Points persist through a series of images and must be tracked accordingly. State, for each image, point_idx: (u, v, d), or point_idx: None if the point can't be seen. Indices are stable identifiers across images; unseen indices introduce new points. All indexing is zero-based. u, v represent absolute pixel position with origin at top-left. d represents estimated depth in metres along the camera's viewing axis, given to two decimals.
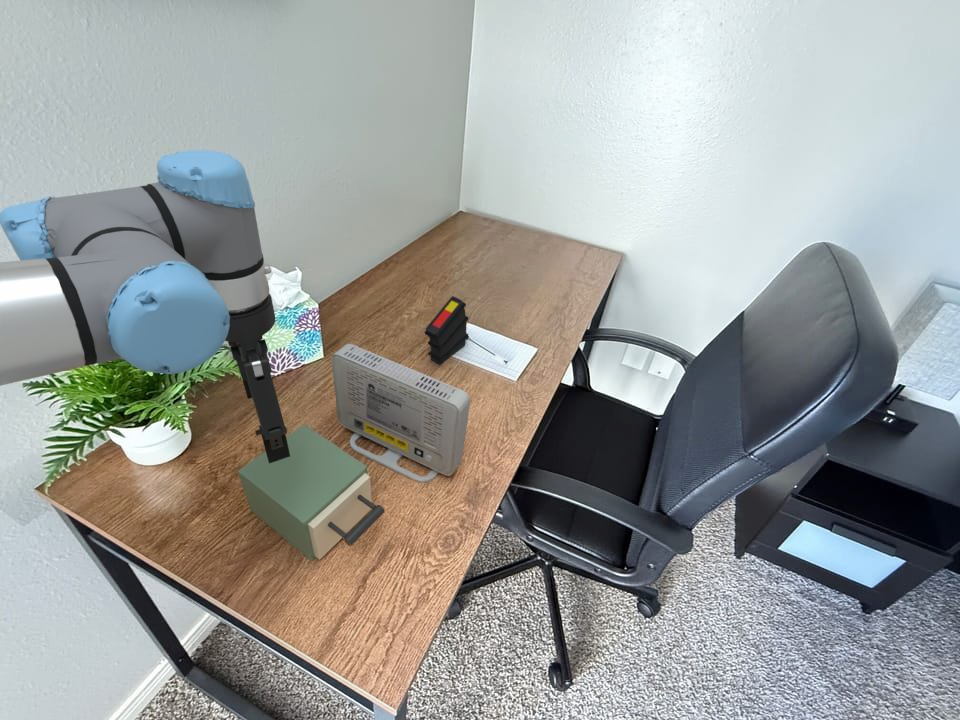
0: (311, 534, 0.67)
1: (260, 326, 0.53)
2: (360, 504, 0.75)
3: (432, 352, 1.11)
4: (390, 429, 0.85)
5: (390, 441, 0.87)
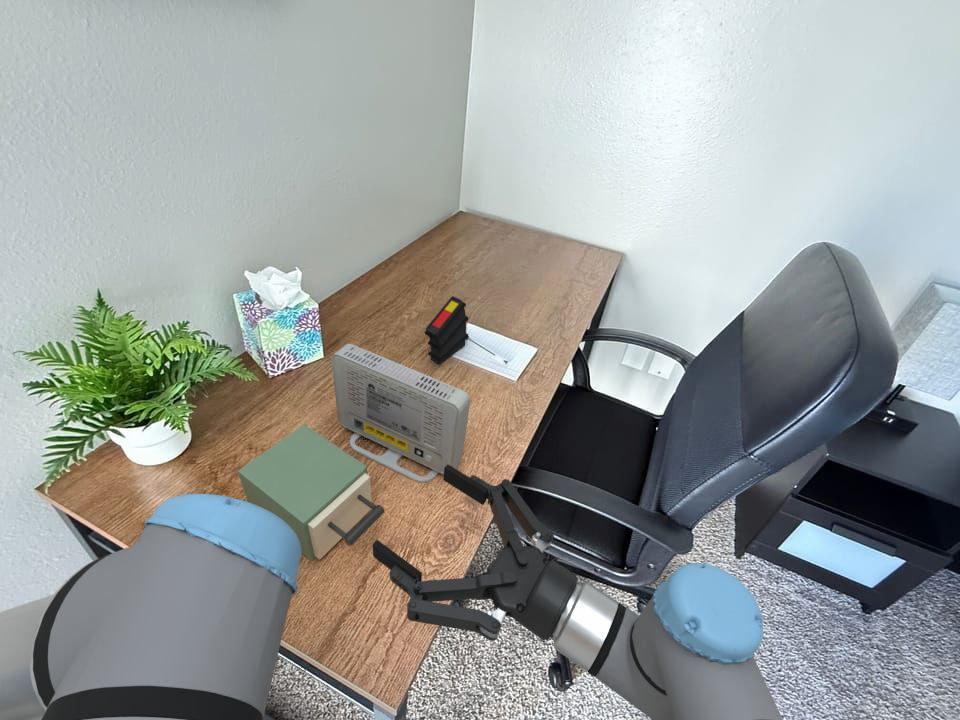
0: (311, 534, 0.67)
1: None
2: (360, 504, 0.75)
3: (432, 352, 1.11)
4: (390, 429, 0.85)
5: (390, 441, 0.87)
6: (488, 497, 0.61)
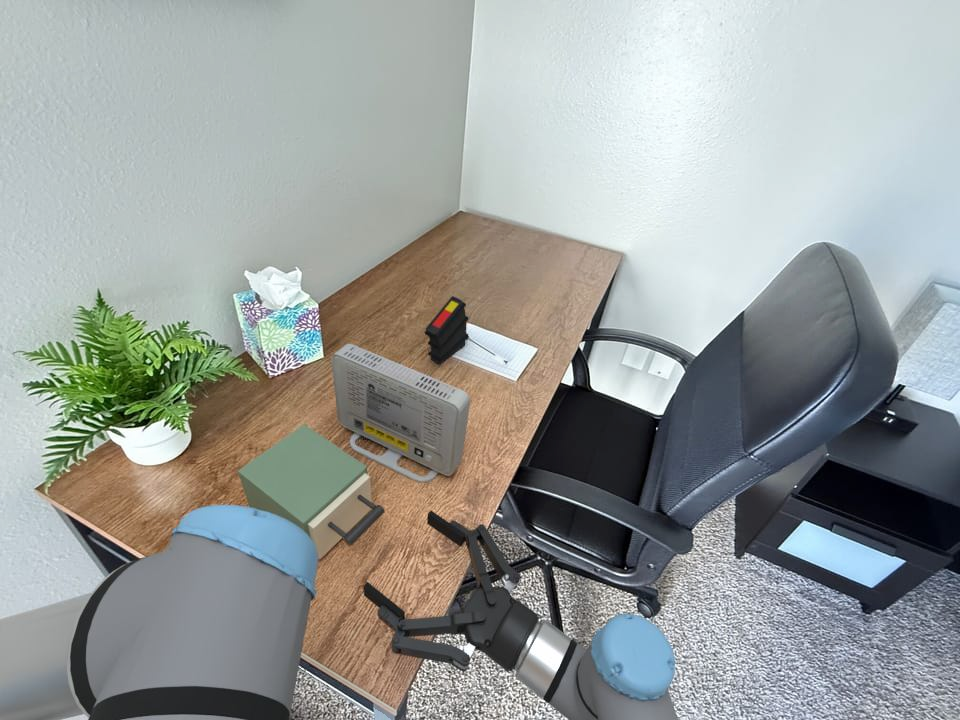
0: (311, 534, 0.67)
1: None
2: (360, 504, 0.75)
3: (432, 352, 1.11)
4: (390, 429, 0.85)
5: (390, 441, 0.87)
6: (465, 540, 0.69)
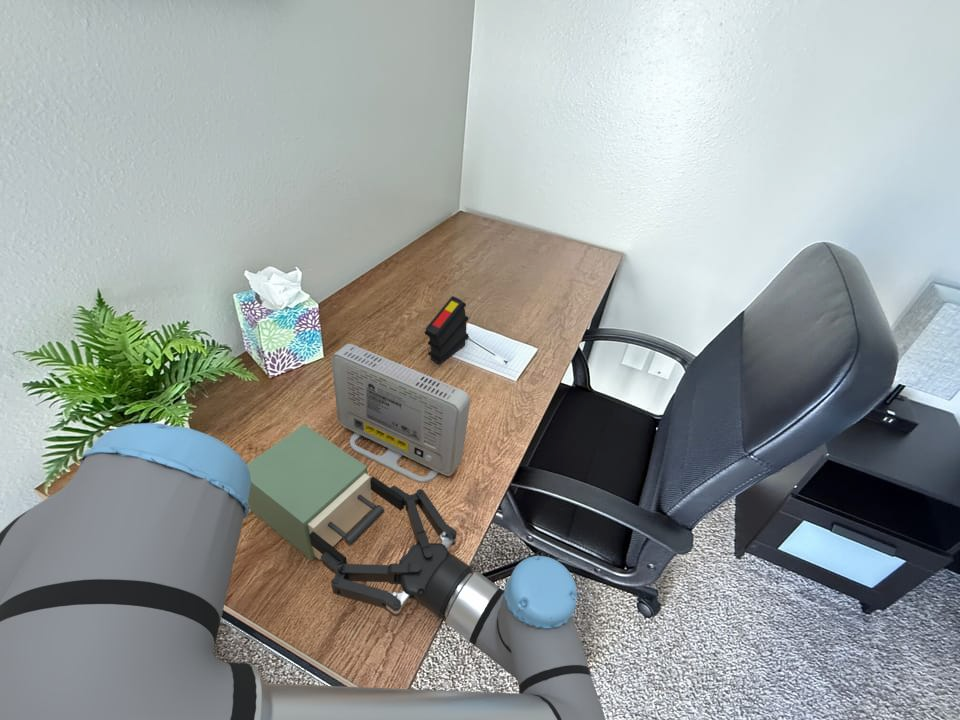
0: None
1: (429, 610, 0.62)
2: (360, 504, 0.75)
3: (432, 352, 1.11)
4: (390, 429, 0.85)
5: (390, 441, 0.87)
6: (405, 504, 0.73)
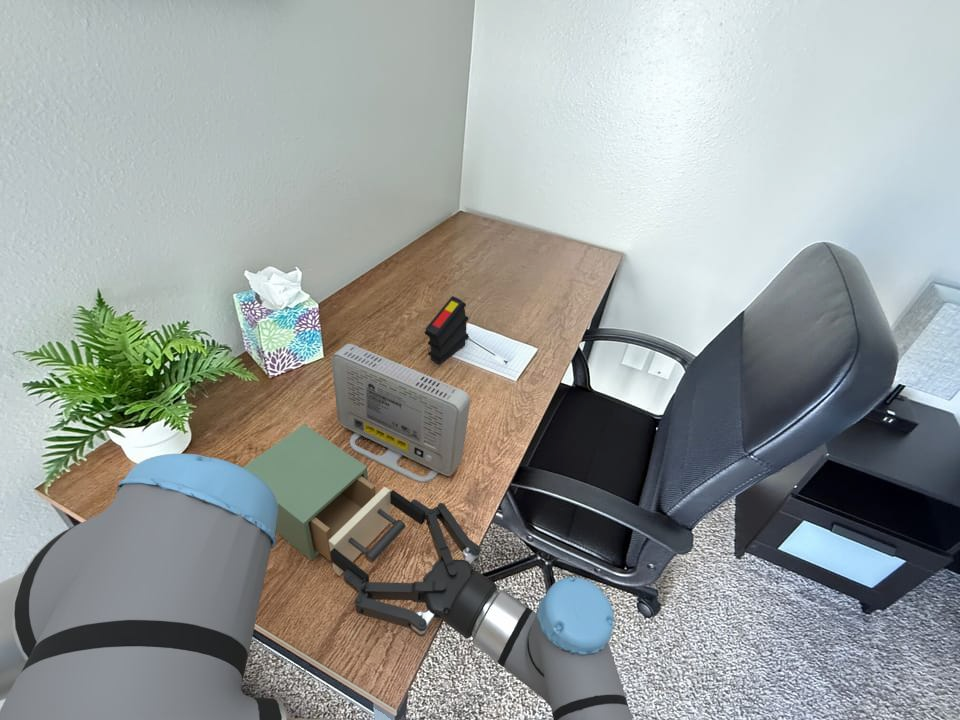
0: None
1: (455, 630, 0.61)
2: (380, 518, 0.73)
3: (432, 352, 1.11)
4: (390, 429, 0.85)
5: (390, 441, 0.87)
6: (426, 519, 0.71)
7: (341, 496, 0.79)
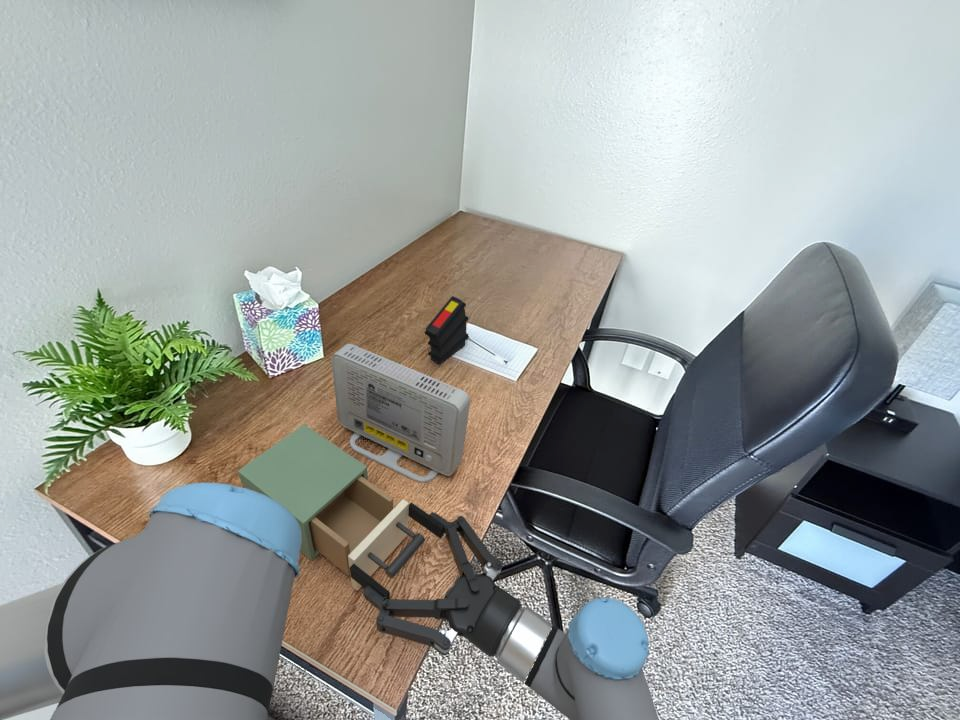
0: None
1: None
2: (398, 531, 0.72)
3: (432, 352, 1.11)
4: (390, 429, 0.85)
5: (390, 441, 0.87)
6: (445, 532, 0.70)
7: (357, 508, 0.77)
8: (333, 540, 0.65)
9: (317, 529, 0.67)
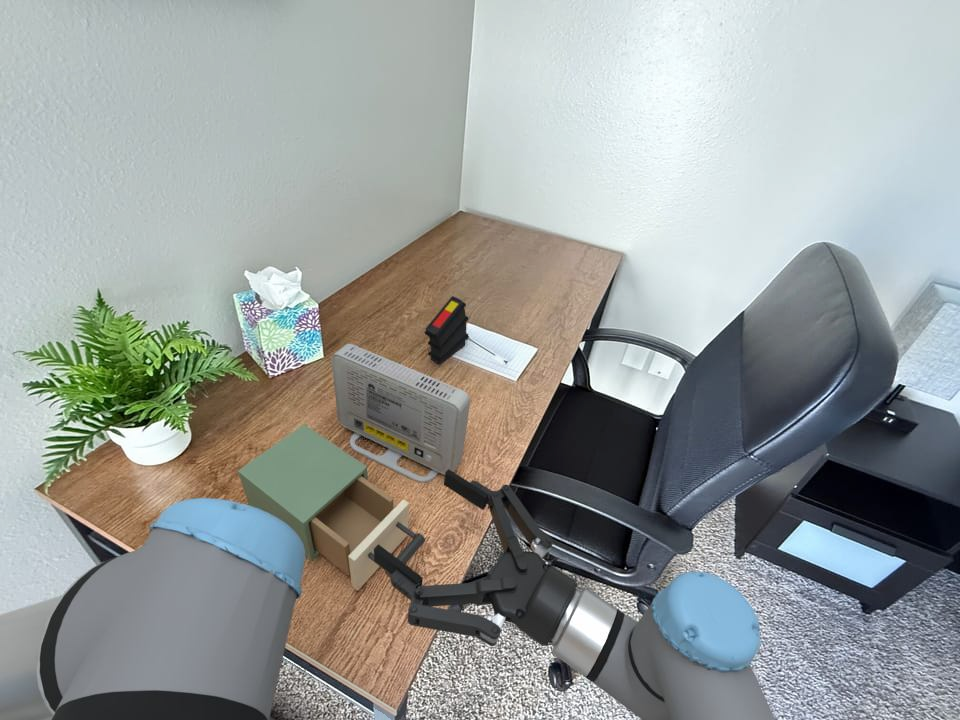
0: (351, 566, 0.64)
1: (529, 636, 0.50)
2: (398, 531, 0.72)
3: (432, 352, 1.11)
4: (390, 429, 0.85)
5: (390, 441, 0.87)
6: (488, 502, 0.61)
7: (357, 508, 0.77)
8: (333, 540, 0.65)
9: (317, 529, 0.67)
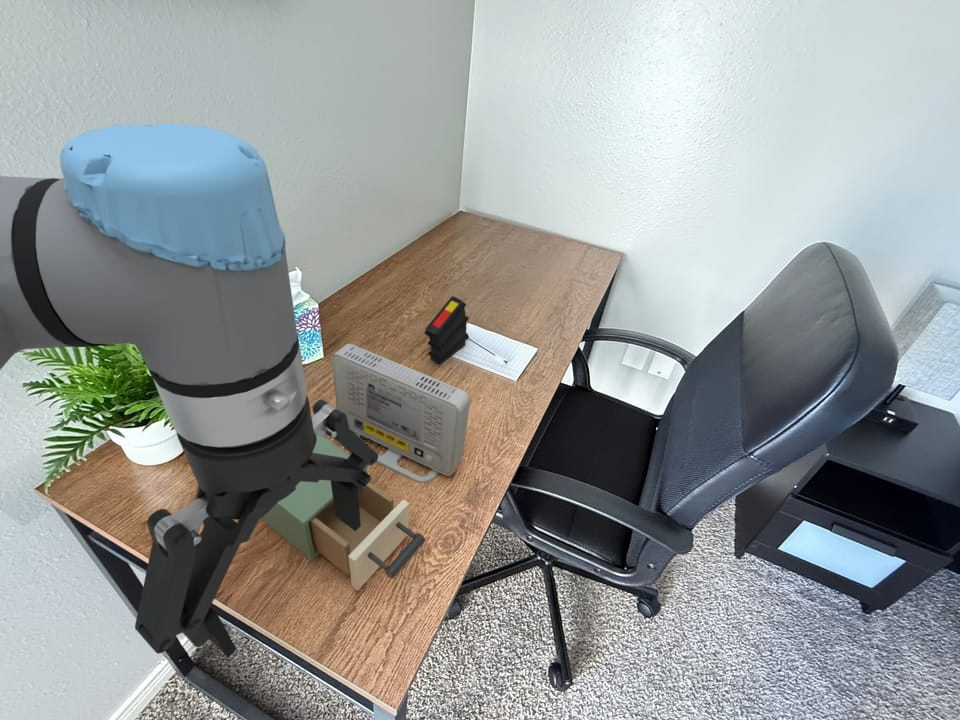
0: (351, 566, 0.64)
1: (217, 479, 0.27)
2: (398, 531, 0.72)
3: (432, 352, 1.11)
4: (390, 429, 0.85)
5: (390, 441, 0.87)
6: None
7: None
8: (333, 540, 0.65)
9: (317, 529, 0.67)
